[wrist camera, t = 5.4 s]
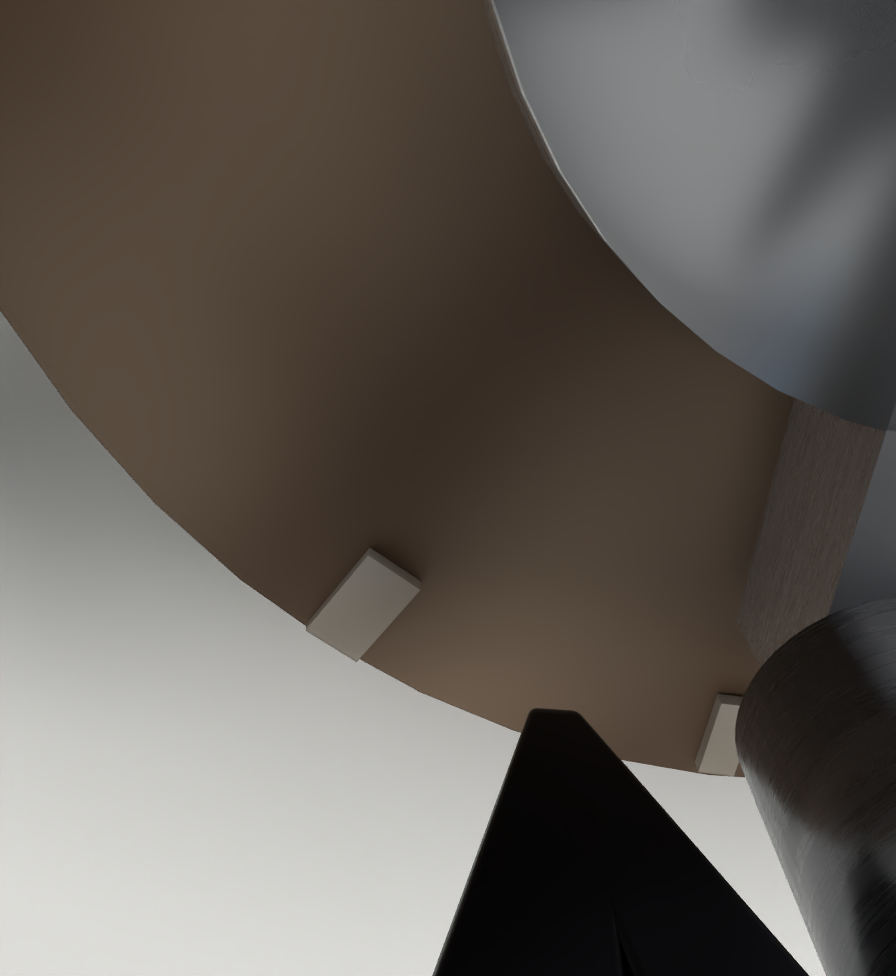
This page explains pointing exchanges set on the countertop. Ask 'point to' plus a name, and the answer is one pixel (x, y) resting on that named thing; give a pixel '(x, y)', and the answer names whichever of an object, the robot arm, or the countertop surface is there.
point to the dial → (768, 361)
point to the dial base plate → (385, 355)
